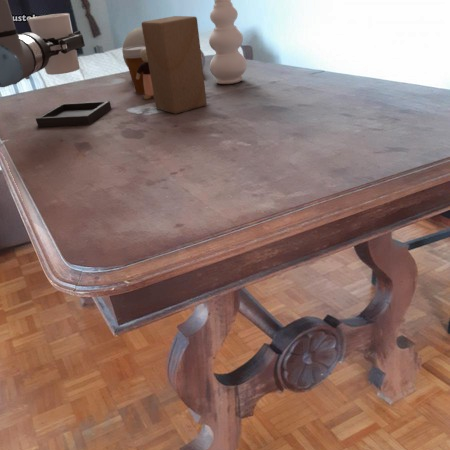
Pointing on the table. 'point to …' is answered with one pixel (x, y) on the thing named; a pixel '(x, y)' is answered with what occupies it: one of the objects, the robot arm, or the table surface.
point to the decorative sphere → (133, 39)
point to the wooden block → (175, 63)
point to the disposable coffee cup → (135, 66)
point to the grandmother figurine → (145, 75)
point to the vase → (226, 44)
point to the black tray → (74, 114)
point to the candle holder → (56, 29)
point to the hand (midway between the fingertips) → (61, 39)
